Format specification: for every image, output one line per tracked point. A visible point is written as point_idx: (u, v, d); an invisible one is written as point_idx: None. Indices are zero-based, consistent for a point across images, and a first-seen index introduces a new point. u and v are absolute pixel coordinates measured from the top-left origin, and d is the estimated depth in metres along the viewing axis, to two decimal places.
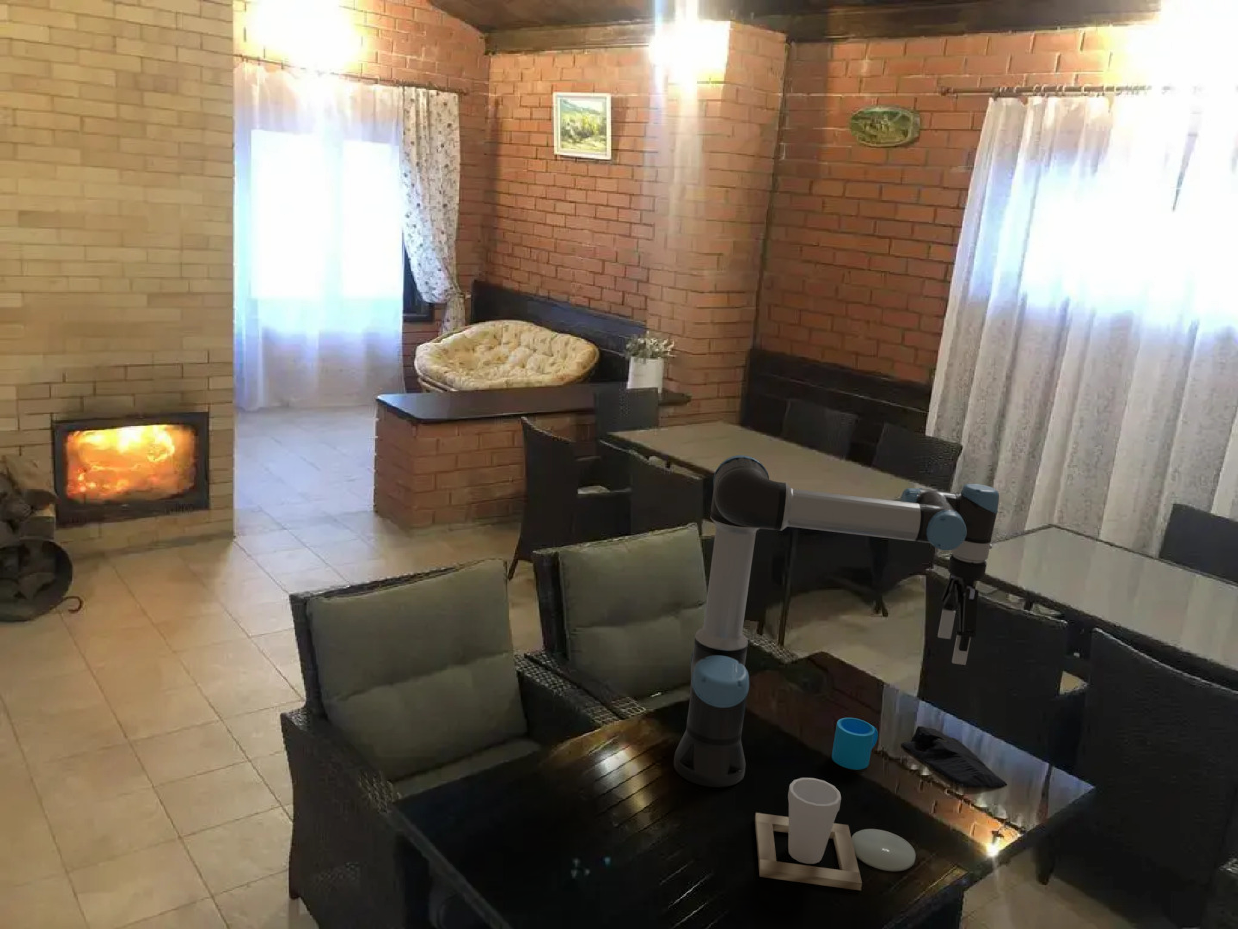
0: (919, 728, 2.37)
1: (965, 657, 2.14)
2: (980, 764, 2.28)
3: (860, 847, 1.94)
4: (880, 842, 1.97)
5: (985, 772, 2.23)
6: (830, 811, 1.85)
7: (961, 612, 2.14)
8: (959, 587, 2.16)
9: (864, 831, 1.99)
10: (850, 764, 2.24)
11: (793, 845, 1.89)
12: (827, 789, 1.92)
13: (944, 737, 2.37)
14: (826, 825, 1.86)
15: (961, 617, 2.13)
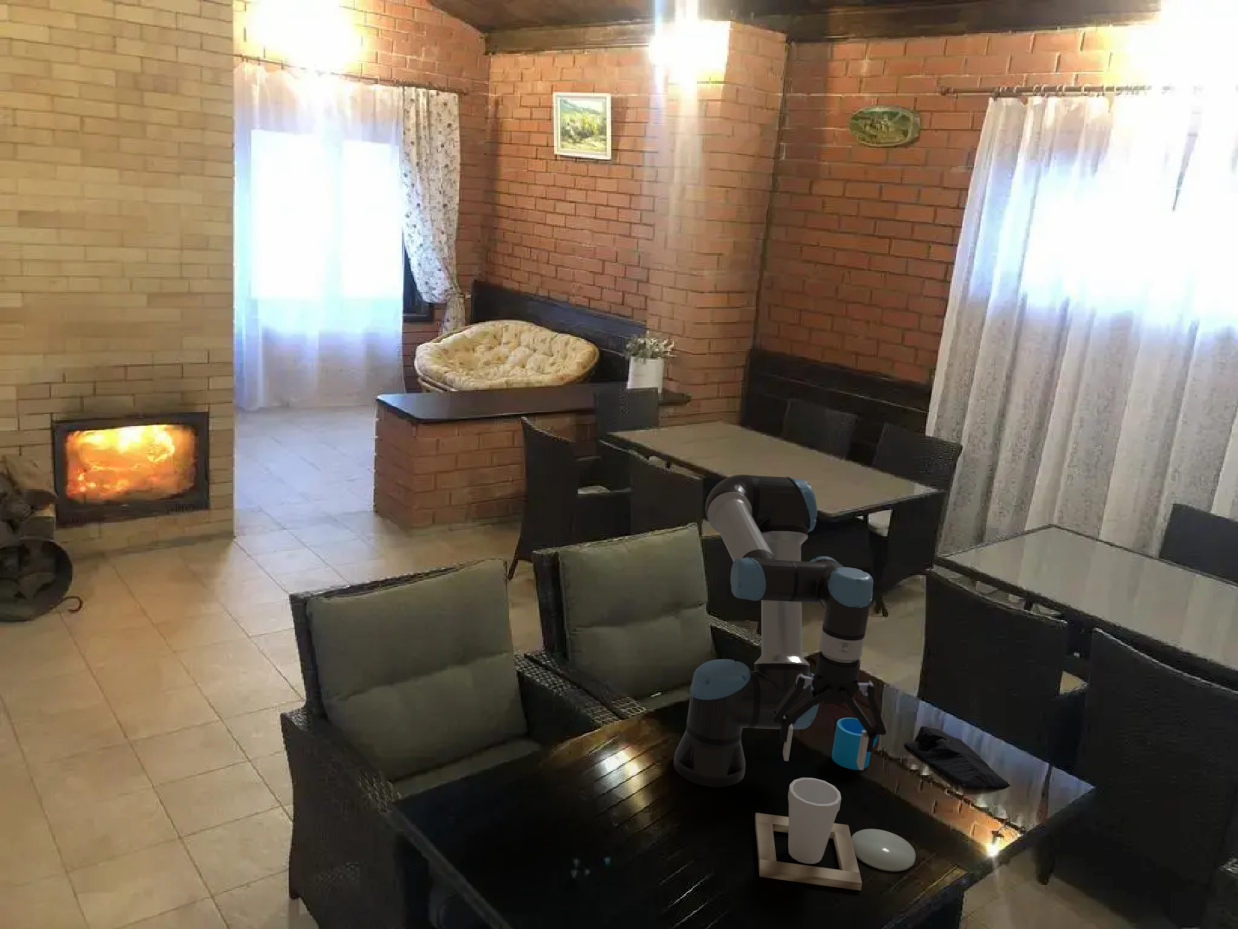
0: (922, 728, 2.37)
1: (785, 751, 1.87)
2: (983, 764, 2.28)
3: (860, 847, 1.94)
4: (880, 842, 1.97)
5: (988, 772, 2.23)
6: (830, 811, 1.85)
7: (800, 701, 1.86)
8: None
9: (864, 831, 1.99)
10: (850, 764, 2.24)
11: (793, 845, 1.89)
12: (827, 789, 1.92)
13: (947, 737, 2.36)
14: (826, 825, 1.86)
15: (795, 705, 1.87)
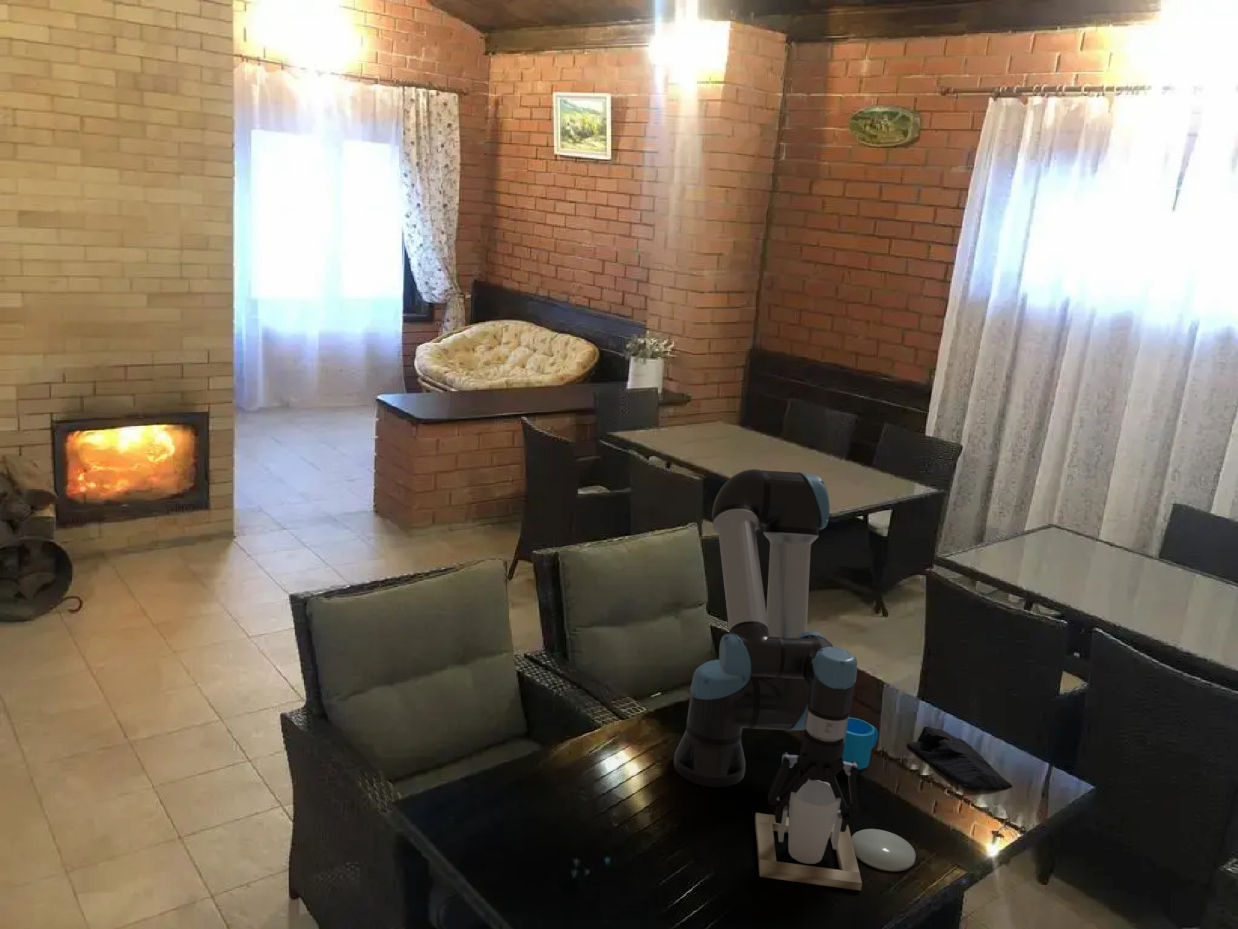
0: (925, 728, 2.37)
1: (780, 833, 1.90)
2: (985, 765, 2.28)
3: (860, 847, 1.94)
4: (880, 842, 1.97)
5: (990, 773, 2.23)
6: (830, 811, 1.85)
7: (791, 781, 1.90)
8: None
9: (864, 831, 1.99)
10: None
11: (793, 845, 1.89)
12: (827, 789, 1.92)
13: (950, 738, 2.36)
14: (826, 825, 1.86)
15: (787, 786, 1.90)
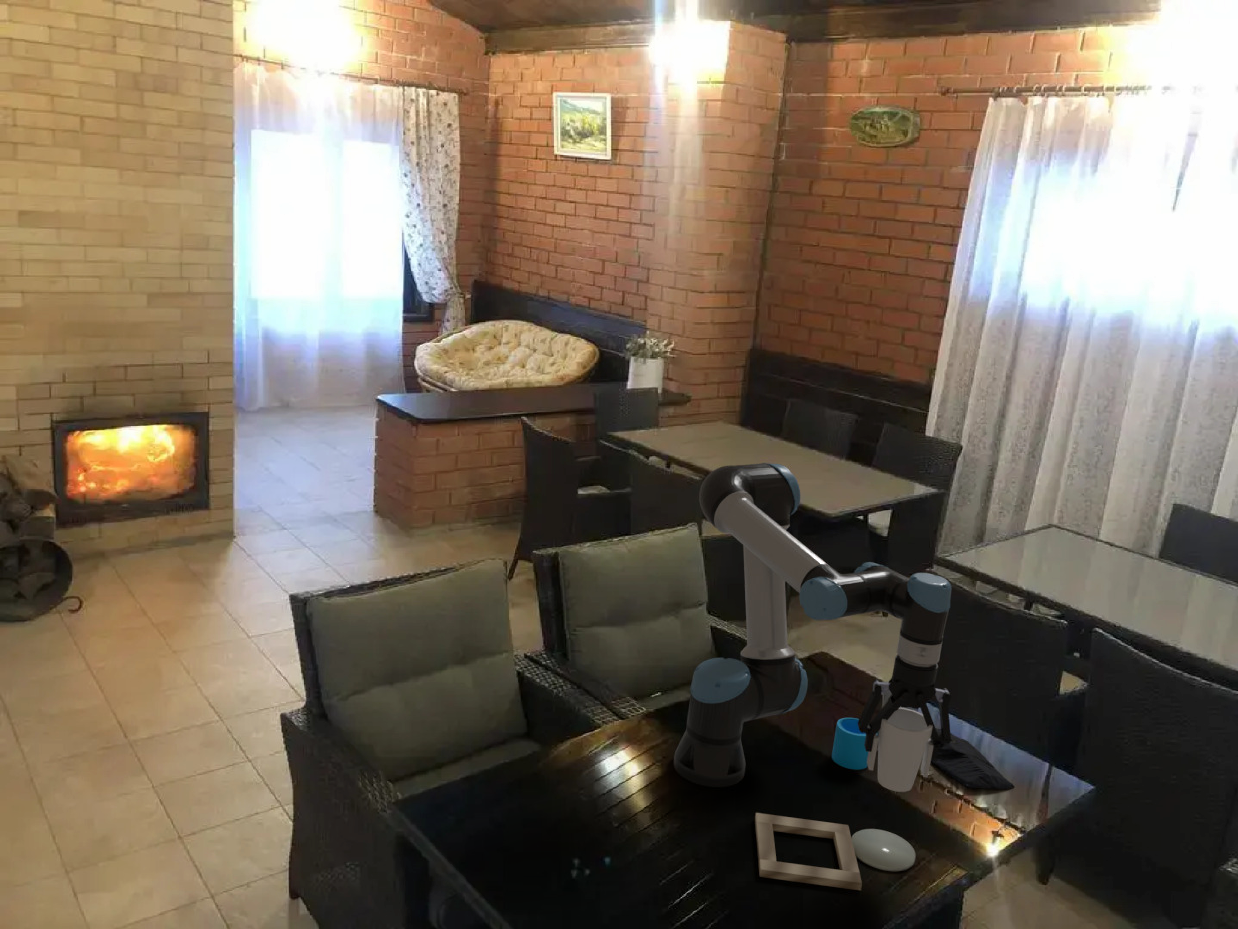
0: None
1: (870, 761, 1.90)
2: (988, 765, 2.28)
3: (860, 847, 1.94)
4: (880, 842, 1.97)
5: (992, 773, 2.23)
6: (923, 737, 1.85)
7: (881, 709, 1.89)
8: None
9: (864, 831, 1.99)
10: (850, 764, 2.24)
11: (884, 773, 1.89)
12: (916, 718, 1.91)
13: (953, 738, 2.36)
14: (918, 752, 1.86)
15: (877, 714, 1.90)
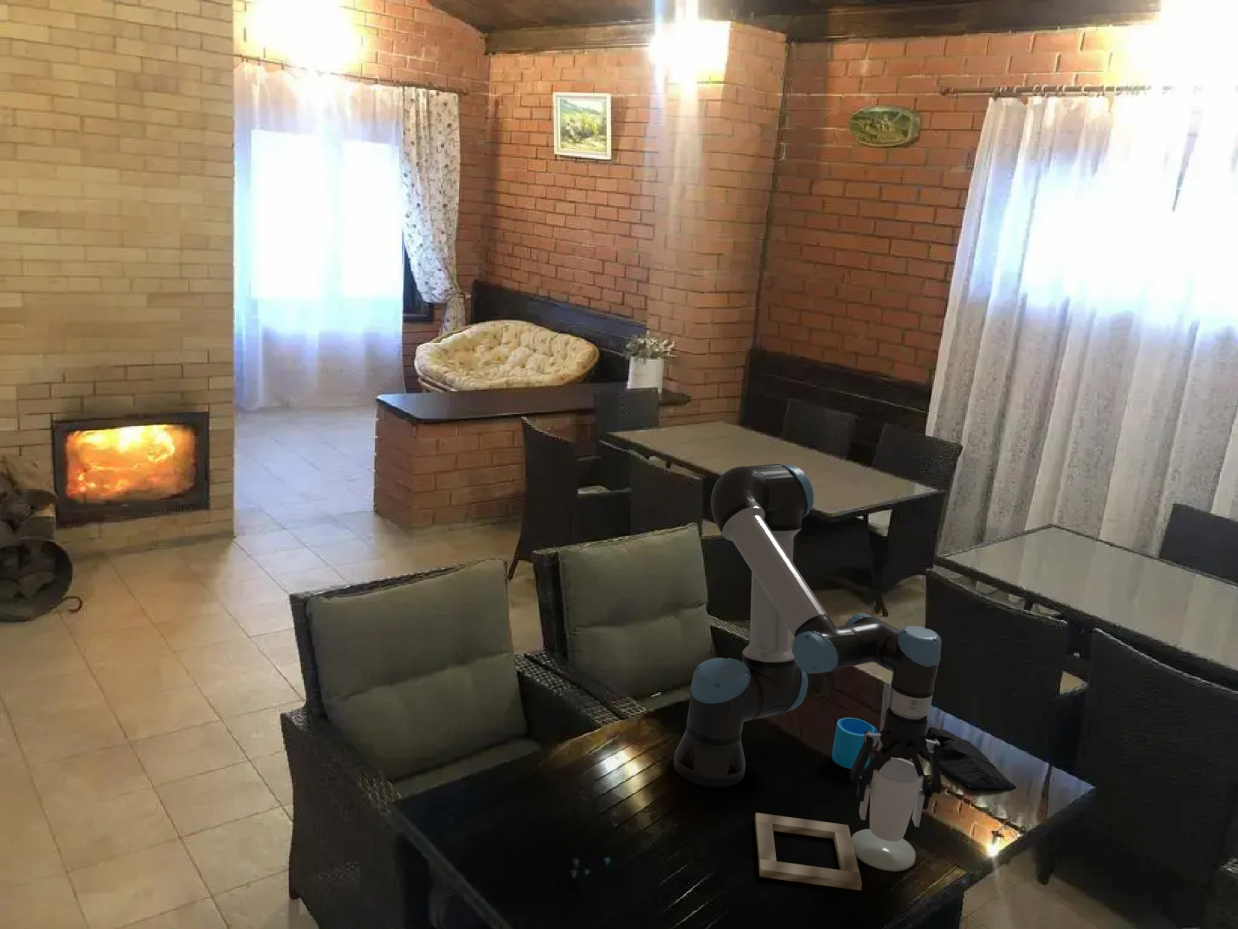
0: (930, 729, 2.37)
1: (862, 810, 1.92)
2: (990, 766, 2.28)
3: (860, 847, 1.94)
4: (880, 842, 1.97)
5: (993, 774, 2.23)
6: (914, 788, 1.87)
7: (873, 760, 1.92)
8: None
9: (864, 831, 1.99)
10: (850, 764, 2.24)
11: (876, 823, 1.91)
12: (908, 768, 1.94)
13: (955, 739, 2.36)
14: (909, 802, 1.88)
15: (869, 764, 1.92)
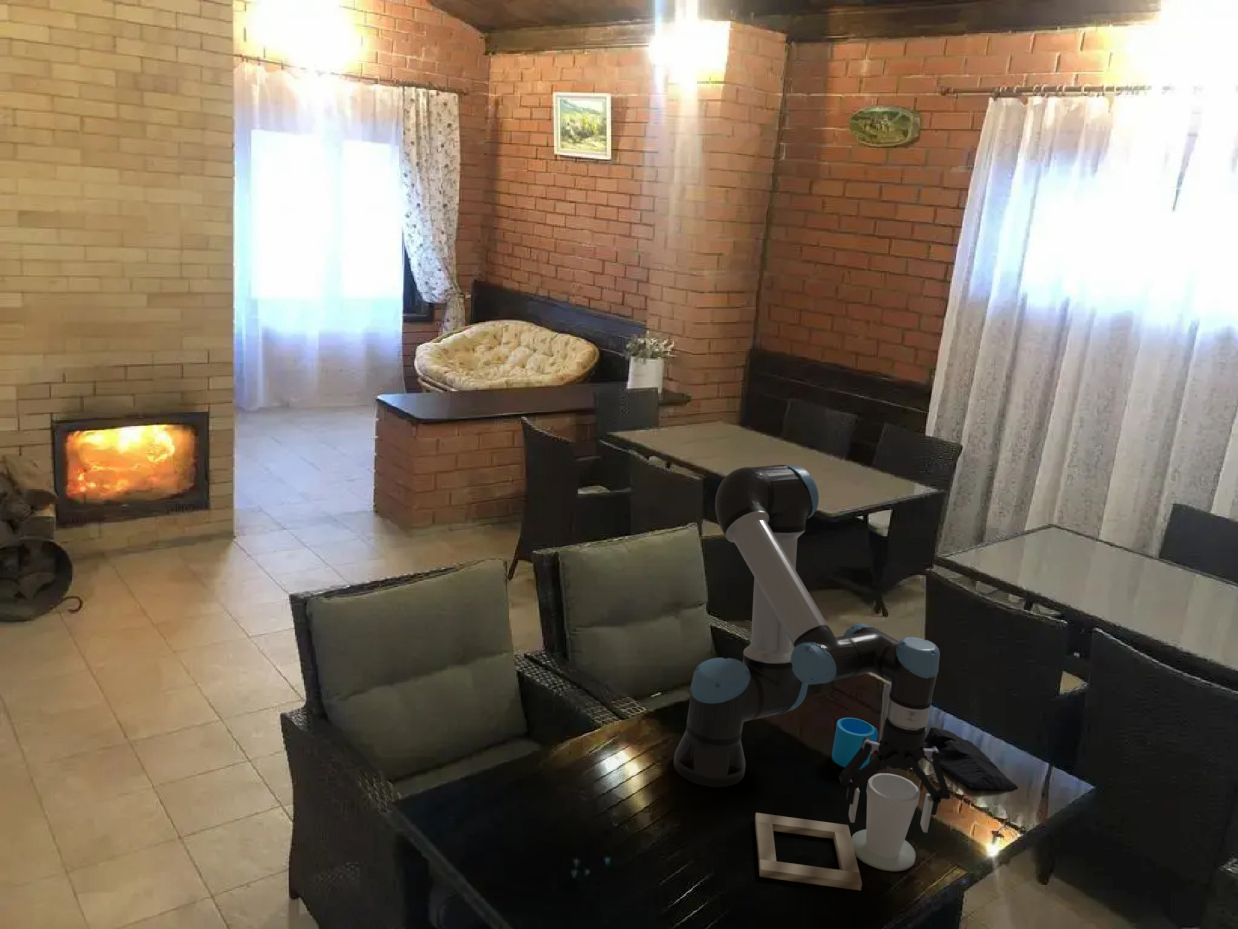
0: (932, 729, 2.37)
1: (851, 813, 1.92)
2: (991, 766, 2.28)
3: (860, 847, 1.94)
4: None
5: (995, 774, 2.23)
6: (910, 806, 1.88)
7: (866, 765, 1.92)
8: None
9: (864, 831, 1.99)
10: None
11: (872, 840, 1.92)
12: (904, 785, 1.94)
13: (957, 739, 2.36)
14: (906, 820, 1.89)
15: (862, 769, 1.92)
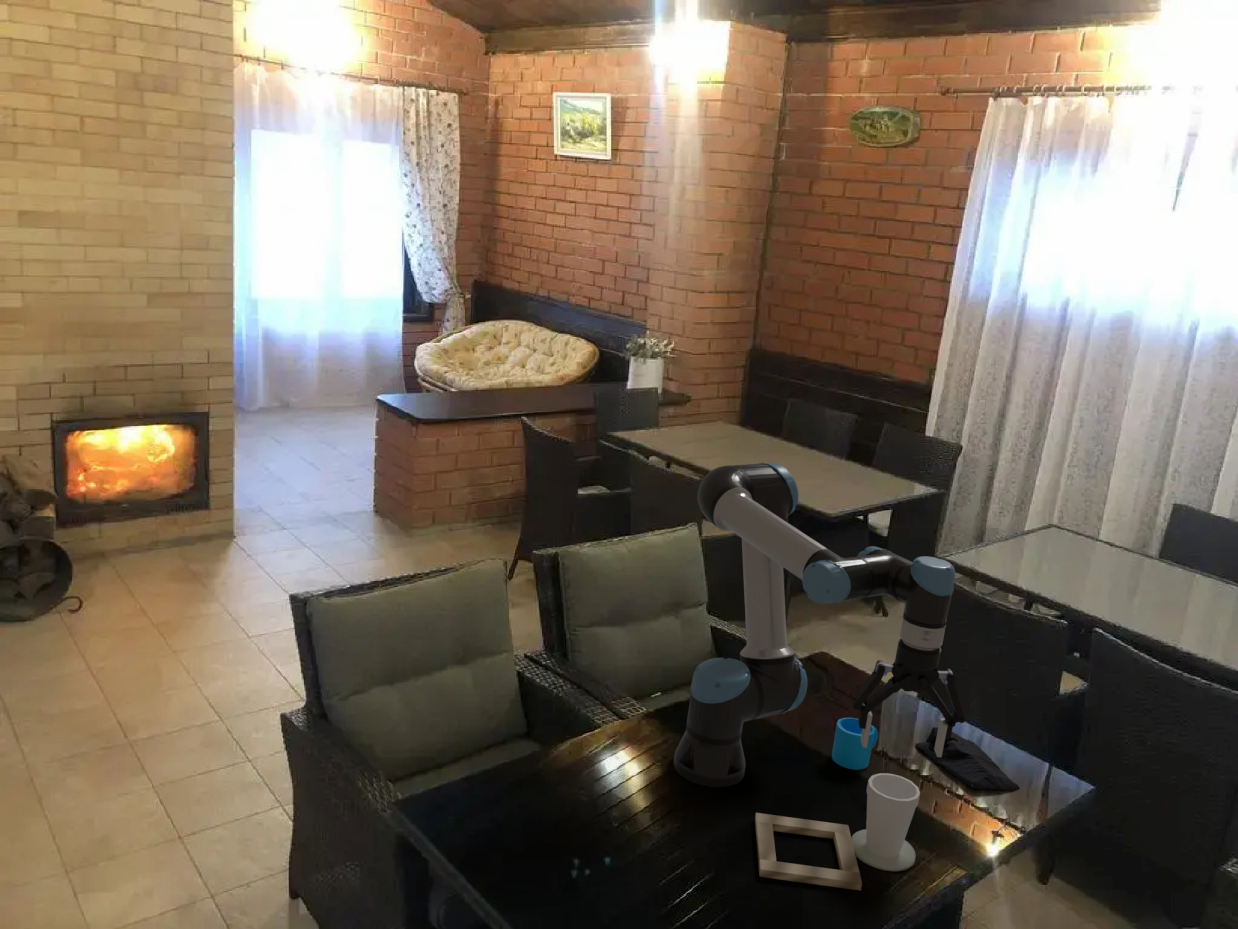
0: (934, 729, 2.37)
1: (863, 738, 1.89)
2: (993, 766, 2.28)
3: (860, 847, 1.94)
4: None
5: (997, 774, 2.23)
6: (910, 806, 1.88)
7: (879, 689, 1.88)
8: None
9: (864, 831, 1.99)
10: (850, 764, 2.24)
11: (872, 839, 1.92)
12: (904, 785, 1.95)
13: (959, 739, 2.36)
14: (906, 820, 1.89)
15: None
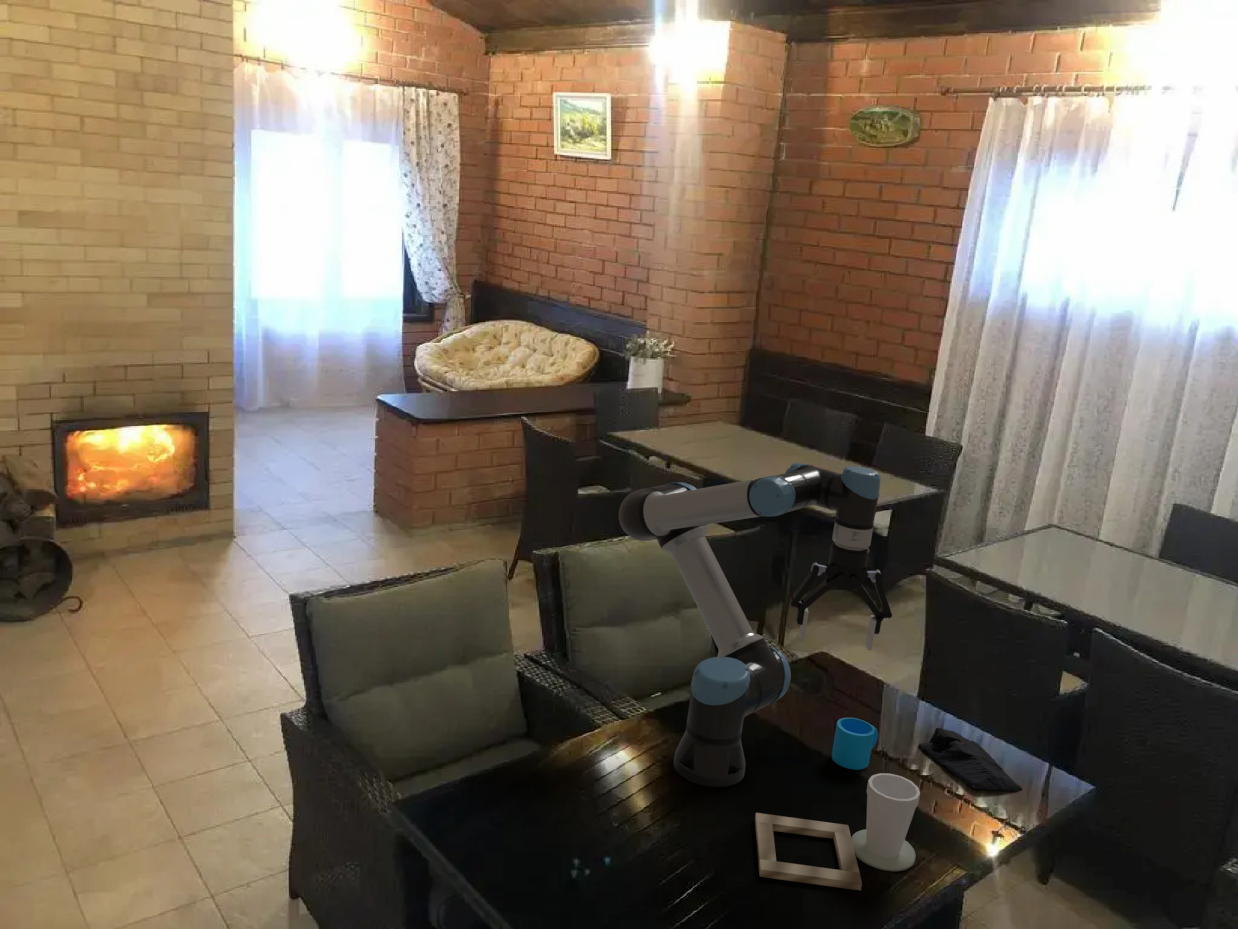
0: (937, 730, 2.37)
1: (801, 633, 2.08)
2: (996, 768, 2.27)
3: (860, 847, 1.94)
4: None
5: (999, 775, 2.22)
6: (910, 806, 1.88)
7: (815, 588, 2.08)
8: None
9: (864, 831, 1.99)
10: (850, 764, 2.24)
11: (872, 839, 1.92)
12: (904, 785, 1.95)
13: (962, 740, 2.36)
14: (906, 820, 1.89)
15: (811, 592, 2.08)
